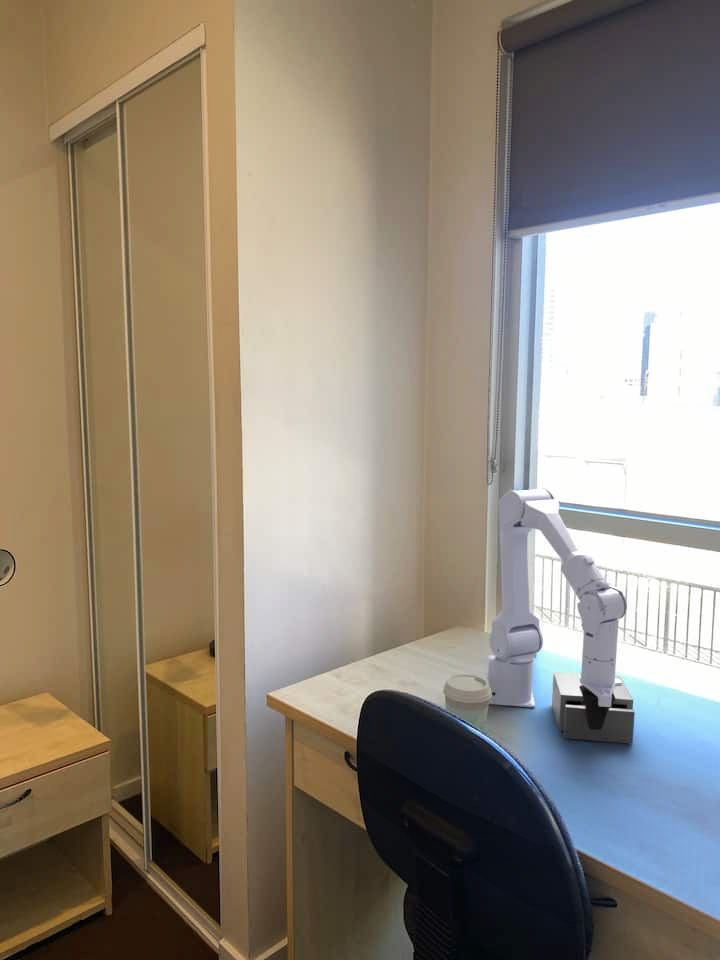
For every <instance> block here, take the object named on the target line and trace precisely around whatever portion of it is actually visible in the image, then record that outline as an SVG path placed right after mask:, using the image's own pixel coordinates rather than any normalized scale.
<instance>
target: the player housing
mask: <svg viewBox="0 0 720 960" xmlns="http://www.w3.org/2000/svg"><path fill="white" fill-rule="evenodd" d="M580 676H581V673H573V672H572V673H571V672H557V671H554V672H553V676H552V694H551V697H552V698H551V700H552V701H551V709H552V710H553V715H554V718H555V722H556V725H557V728H558V731H560V732H564V720H565V705H566V704H574V705H581V701H584V698H583V696H582V693H581V690H580V688H579V686H581V685H582V684H581V683H580ZM615 678H617V679H620V680H621V682H622V686H616V687H615V689H614V691H613V694H614V696H615V701H614V702H613V704H612V705H611V707H612V708H618V709H631V710H634V699H633V697H632V695H631V693H630V691H629V690H628V688H627V686H626V684H625V682H624V680H623V678H622V677H621V676H616V675H615Z"/></svg>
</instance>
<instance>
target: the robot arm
mask: <svg viewBox="0 0 720 960" xmlns="http://www.w3.org/2000/svg"><path fill="white" fill-rule="evenodd" d="M559 511H560V503H559V501H558V500H557V499H556V497H555V495H554V493H553V491H551V490H550V489H548V488H544V487H543V488H540V489H539V488H538V489H527V490H526V489H525V490H524V489H523V490H508V491H506V492H505V493H504V494H503V495H502V496H501V498H499V500H498V523H499V528H498V529H499V548H500V550H499V551H500V572H501V573H500V575H501V595H502V596H501V597H502V599H501V600H502V601H501V603H502V610H501V612H499V614H497V616H496V617H495V618H494V619H493V620H492V621H491V632H490V634H489V635H490V636H489V647H490V649H491V652H492V653H493V655H487V661H486V662H487V665H486V666H487V667H486V680H487V681H488V683H489V687H490V689H491V693H492V696H491V698H490V699H489V705H496V706H497V705H498V706H510V707H523V708H535V707H536V704H535V699H534V694H533V673H534V659H536V658H537V653H540V651H541V650H542V649H543V644H544V639H543V633H542V631H541V627H540V619H539V618H538V617H537V616H536V615H535V614H534V613H532V612H531V611H530V589H529V586H530V585H529V564H528V561H529V560H528V538H527V537H528V534H529V533H530V532H531V531H533V529H534V530H538V531H540V533H541V534H542V535H543V537H544V538H545V539H546V540H547V542H548V543H549V545H550V546H551V547H552V549H553V550H554V551H555V553H556V554H557V555H558V557H559V559H561V560H562V561H561V562H562V563H561V565H560V566H561V568H560V571H561V573H562V574H563V577H565V579H566V581H567V582H568V584H569V586H570V587H571V589H572V590H573V592H574V594H575V595H576V597H577V598H578V599H577V600H579V602H578V603H577V611H578V613H579V616H580V620H581V627H582V630H583V636H582V637H583V639H582V640H583V641H582V656H581V657H582V658H581V669H580V671H581V672H580V674H581V676H580V683H581V684H582V685H581V686H579V688H580V690H581V693H582V696H583V698H584V702H585V707H586V715H587V722H588V726H589V729H592V730H601V729H602V727H603V724H604V721H605V717H606V714H607V712H608V710H609V708H610V707H611V705H612V704H613V702H614V701H615V696H614V694H613V691H614V689H615V687H616V686H622V682H621V680H620V679H617V678H615V676H616V670H617V669H616V668H617V666H616V665H617V654H618V653H617V652H618V649H617V648H618V634H619V620H621V619H623V618H624V616H625V615H626V614H627V611H628V606H627V605H628V604H627V600H626V597H625V595H624V593H623V591H622V590H621V589H620V588H618V587H616V586H614V585H612V584H611V583H610V582H607V580H606V579H605V578H604V576H603V575H602V573H601V572H600V570H599V569H598V567H597V566H596V564H595V560H594V559H593V558H592V556H590V555H589V554H588V553H585V552H580V551H579V549H578V547H577V546H576V543H575V542H574V540H573V538H572V536H571V533H570V532H569V530H568V529H567V526H566V525H565V524H564V521H563V519H562V517H561V515H560V514H559Z"/></svg>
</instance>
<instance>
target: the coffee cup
mask: <svg viewBox="0 0 720 960" xmlns="http://www.w3.org/2000/svg"><path fill="white" fill-rule="evenodd" d="M442 693H443V695H444V699H445V701H444V702H445V703H444V704H445V710H447V711H449V712H451V713H453V714H455V715H457V716H459V717H460V718H462V719H464V720H465V721H467V722H469V723H471V724H472V725H474V726H475V727H477V728H479V729H480V730H482V731H483V732H484V733H485V729H486V723H487V717H488V710H489V705H490V704H489V699H490V698H491V696H492V693H491V689H490V687H489V683H488V681H487V679H486V678H484V677H483V676H482V677H481V676H479V675H475V674H470V673H469V674H466V673H464V674H463V673H462V674H454V675H451V676H449V677H447V679H446V682H445V684H444V686H443V690H442Z"/></svg>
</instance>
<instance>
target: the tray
mask: <svg viewBox="0 0 720 960" xmlns="http://www.w3.org/2000/svg"><path fill="white" fill-rule="evenodd" d="M635 715H636V714H635V709H633V710H631V709H618V708H612V707H610V708H609V710H608V712H607V714H606V717H605V721H604V724H603V727H602V729H601V730H592V729H589V726H588V722H587V715H586V707H585V706H581V705H574V704H566V705H565V720H564V731H563V738H564V739H568V740H569V739H572V740H584V741H596V742H606V743H607V742H608V743H619V744H633V742H634V729H635V728H634V727H635Z"/></svg>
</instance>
